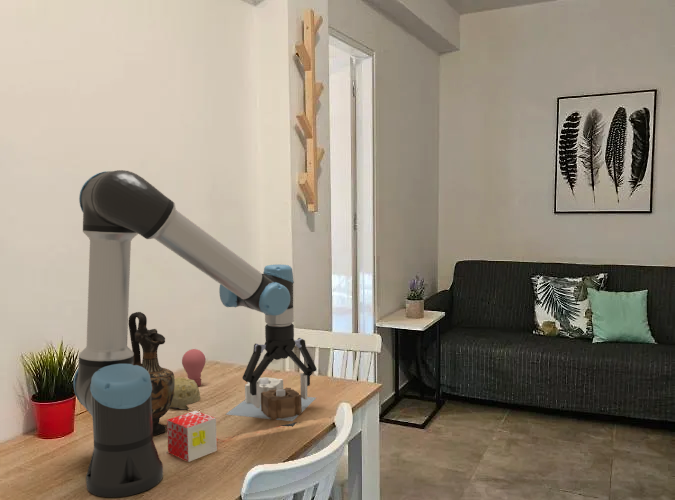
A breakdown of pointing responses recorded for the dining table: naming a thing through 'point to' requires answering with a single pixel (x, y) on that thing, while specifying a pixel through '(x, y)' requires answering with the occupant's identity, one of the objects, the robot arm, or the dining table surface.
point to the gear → (263, 388)
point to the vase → (152, 367)
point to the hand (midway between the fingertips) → (280, 402)
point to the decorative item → (184, 393)
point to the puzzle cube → (191, 435)
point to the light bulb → (194, 364)
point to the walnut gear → (281, 404)
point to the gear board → (252, 411)
